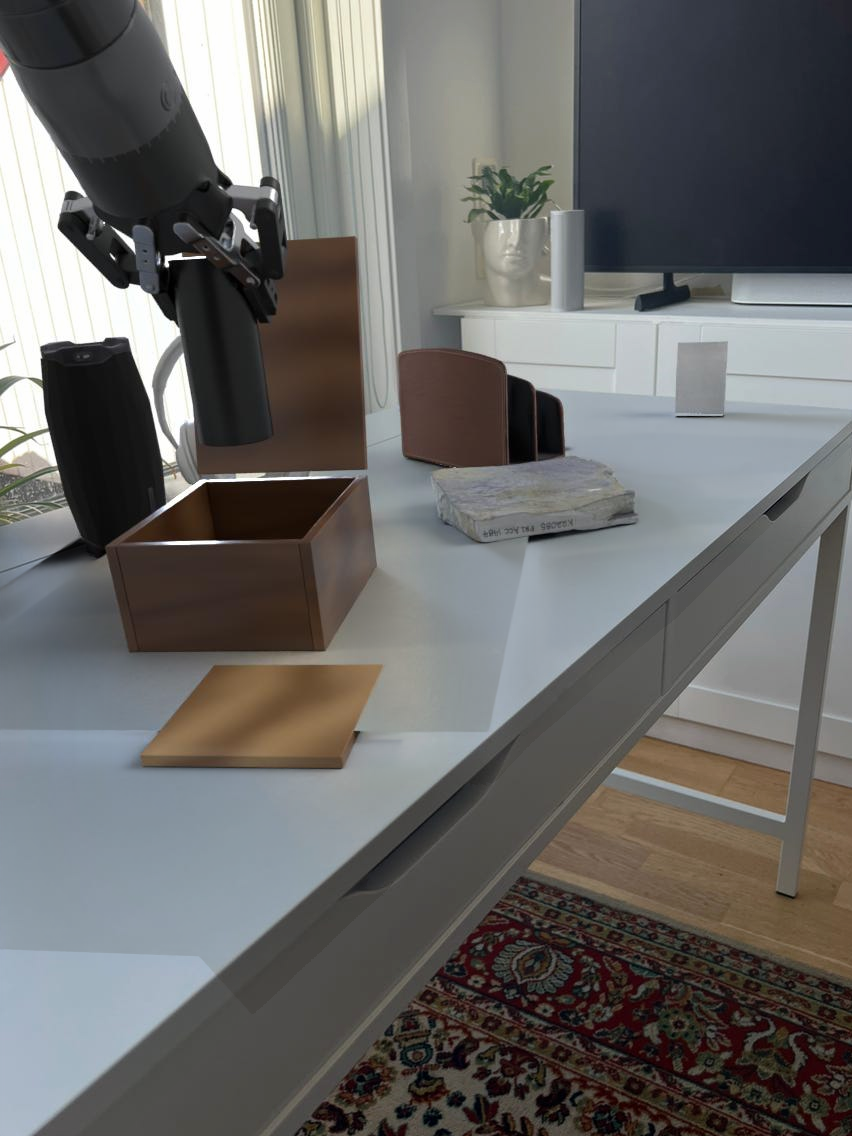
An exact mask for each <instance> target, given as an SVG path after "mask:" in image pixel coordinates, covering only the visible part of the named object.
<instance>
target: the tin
mask: <svg viewBox="0 0 852 1136" xmlns="http://www.w3.org/2000/svg"><path fill="white" fill-rule="evenodd" d="M241 257H242V256H241ZM242 258H243V257H242ZM243 259H244V258H243ZM166 261H167V267H168V268H169V273H170V279H171V285H172V290H173V296H174V302H175V307H176V313H177V319H178V324H179V328H178V331H179V334H180V336H181V341H182V347H183V358H184V363H185V369H186V375H187V381H188V386H189V387H188V388H189V392H190V398H191V403H192V411H193V410H194V415H195V421H196V427H197V432H198V438H199V442H200V444H202V445H205V446H214V447H226V446H239V445H246V444H252V443H257V442H261V441H264V440H267V439H269V438H271V437H273V436H274V431H273V424H272V417H271V410H270V403H269V397H268V390H267V383H266V376H265V369H264V362H263V355H262V348H261V341H260V334H259V327H258V320H257V317H256V315H255V313H254V311H253V309H252V307H251V305H250V303H249V301H248V299H247V297H246V295H245V293H244V291H243V284H242V283H241V282H240V281H238V280H237V279H236V278H235V277H234V276H233V275H232V274H231V273H230V272H229V271H228V270H227V269H225V270H222V271H221V270H219V269H218V268H217V267H216V266H214V265H213V264H212V263H211V262H210V261H209V260H208V259H207V258H206V257H205V256H203V257H189V258H182V257H179V258H169V259H167V260H166ZM194 415H193V416H194Z"/></svg>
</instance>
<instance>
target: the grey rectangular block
mask: <svg viewBox="0 0 852 1136" xmlns="http://www.w3.org/2000/svg"><path fill="white" fill-rule="evenodd" d="M728 345H729V341H727V340H726V341H725V340H724V341H722V340H721V341H685V342H683V341H682V342H678V343H677V353H676V356H677V357H676V370H675V373H676V374H675V407H674V408H675V411H674V414H675V413H691V414H692V413H694V414H695V413H697V414H699V413H701V414H724V411H725V412H726V396H727V394H726V393H727V375H728V374H727V373H728V347H729V346H728ZM724 415H725V414H724Z"/></svg>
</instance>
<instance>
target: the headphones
mask: <svg viewBox="0 0 852 1136" xmlns="http://www.w3.org/2000/svg"><path fill="white" fill-rule="evenodd" d="M182 355H184V353H183V347H182V341H181V336H180V333H179V334H177V336H176V337H174V339H172V341H171V342H170V343H169V344H168V346H167V347H166V348H165V350H164V351H163V353H162V354H161V356H160V358H159V360H158V362H157V364H156V365H155V366H156V368H154V369H155V370H154V373H153V375H152V381H151V388H152V392H153V403H154V409H155V413H156V416H157V421H158V424H159V427H160V429H161V432H162V434H163V435H164V436H165V437H166V439H167V440H168V442H169V443H170V444H171V446H172V447H173V448H174V449H175V452H174V454H175V461H176V464H177V468H178V470H179V472H180V474H181V477H182V478H183V480H184V481H185V482H186V483H187V484H188V485H191V486H193V485H194V484H196V483H197V482H199V481H200V480H223V479H237V474H210V475H198V470H197V457H196V443H195V429H194V417H193V418H189V419H188V420H186V419H185V420H182V421H181V422H180V423H181V424H180V427H179V441H178V442H179V444H178V443H177V440H176V439H175V438H174V436H173V434H172V432H171V431H170V430H171V429H170V427H169V425H168V421H167V418H166V411H165V404H164V394H165V390H166V388H167V384H168V380H169V378H170V376H171V373H172V372H173V370H174V367H175V366H176V364H177V362H178V360H179V359H180V357H182ZM310 474H311V471H310V472H276V473H264V477H263V478H291V477H310Z"/></svg>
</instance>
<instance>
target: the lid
mask: <svg viewBox="0 0 852 1136" xmlns="http://www.w3.org/2000/svg"><path fill="white" fill-rule="evenodd" d="M254 242H255V243H256V244H257V245H258V246H259V247H260V242H259V241H254ZM358 242H359V241H358V237H356V236H355V235H348V236H347V235H346V236H333V237H331V236H330V237H315V238H314V237H313V238H300V239H299V238H298V239H287V243H288V247H287V255H286V262H285V269H284V276H283V278H282V279H280V280H273V282H274V284H275V286H276V288H277V291H278V293H279V296H278V304H277V311H276V315H272V322H271V323H263V324H260V323H259V321H258V327H259V334H260V341H261V348H262V355H263V362H264V369H265V376H266V383H267V390H268V397H269V403H270V410H271V417H272V424H273V431H274V436H273V437H271V438H269V439H267V440H264V441H261V442H257V443H252V444H246V445H239V446H226V447H214V446H205V445H202V444H200V442H199V438H198V432H197V427H196V421H195V415H194V410H193V409H192V411H193V412H192V414H193V418H194V429H195V443H196V457H197V470H198V475H210V474H236V475H240V474H241V475H243V474H265V473H276V472H310V473H311V472H337V471H339V472H341V471H367V470H368V445H367V444H368V443H367V422H366V421H367V420H366V400H365V397H366V396H365V377H364V375H365V374H364V356H363V354H364V353H363V333H362V332H363V331H362V311H361V290H360V287H361V286H360V268H359V267H360V265H359V263H360V262H359V245H358V244H359V243H358ZM203 256H204V255H203V254H194V253H186V252H183V253H181V258H189V257H203ZM257 320H258V319H257Z"/></svg>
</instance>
